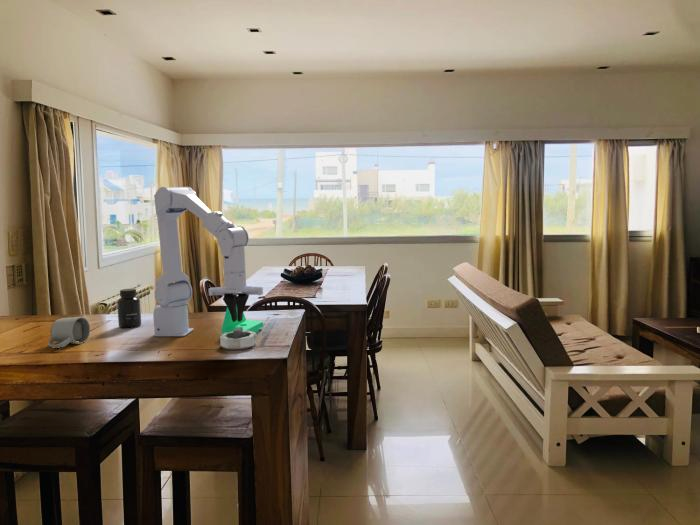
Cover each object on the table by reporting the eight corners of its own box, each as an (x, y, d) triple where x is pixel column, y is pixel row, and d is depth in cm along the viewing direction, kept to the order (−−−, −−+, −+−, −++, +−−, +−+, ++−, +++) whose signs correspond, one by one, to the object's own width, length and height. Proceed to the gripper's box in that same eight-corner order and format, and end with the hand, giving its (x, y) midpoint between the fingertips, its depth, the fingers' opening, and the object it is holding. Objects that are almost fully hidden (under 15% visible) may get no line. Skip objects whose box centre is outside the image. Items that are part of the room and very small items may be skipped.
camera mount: (245, 339, 157) (243, 304, 156) (222, 338, 160) (220, 303, 158) (264, 329, 169) (263, 296, 167) (242, 328, 171) (240, 295, 170)
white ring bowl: (217, 350, 147) (216, 339, 146) (227, 340, 156) (227, 330, 155) (250, 350, 146) (249, 339, 145) (258, 340, 155) (258, 330, 154)
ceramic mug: (67, 339, 163) (64, 313, 161) (91, 339, 161) (89, 314, 160) (40, 349, 152) (37, 323, 151) (66, 350, 151) (63, 323, 150)
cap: (226, 346, 148) (225, 331, 148) (232, 341, 153) (231, 326, 153) (245, 346, 148) (244, 331, 147) (250, 341, 153) (249, 326, 152)
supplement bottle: (131, 329, 172) (128, 292, 170) (114, 328, 174) (111, 291, 172) (146, 324, 178) (143, 288, 177) (129, 323, 180) (126, 287, 179)
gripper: (203, 274, 145) (206, 324, 146) (257, 273, 143) (259, 324, 145) (212, 270, 152) (215, 318, 153) (263, 269, 150) (266, 318, 152)
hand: (237, 320), depth 150 cm, fingers closed
